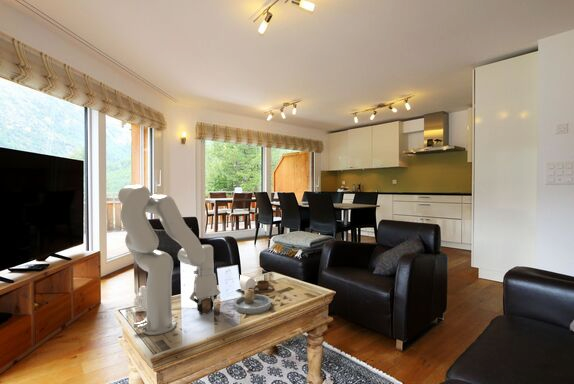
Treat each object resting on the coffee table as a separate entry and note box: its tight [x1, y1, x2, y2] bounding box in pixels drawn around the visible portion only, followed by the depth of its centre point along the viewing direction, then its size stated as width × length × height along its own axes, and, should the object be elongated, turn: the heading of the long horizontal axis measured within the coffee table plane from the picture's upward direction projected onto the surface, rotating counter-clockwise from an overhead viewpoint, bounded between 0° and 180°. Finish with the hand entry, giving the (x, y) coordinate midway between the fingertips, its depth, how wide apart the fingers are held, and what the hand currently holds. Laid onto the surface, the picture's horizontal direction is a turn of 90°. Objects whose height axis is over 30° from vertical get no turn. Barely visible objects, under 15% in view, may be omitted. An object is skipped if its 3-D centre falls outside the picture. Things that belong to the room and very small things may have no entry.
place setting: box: [248, 279, 274, 294], centre depth 162 cm, size 18×20×6 cm
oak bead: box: [244, 289, 255, 304], centre depth 144 cm, size 5×5×6 cm
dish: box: [232, 293, 272, 315], centre depth 142 cm, size 18×18×2 cm
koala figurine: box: [133, 285, 147, 313], centre depth 138 cm, size 8×7×12 cm
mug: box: [239, 274, 258, 292], centre depth 165 cm, size 12×10×8 cm
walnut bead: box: [201, 297, 212, 314], centre depth 135 cm, size 5×5×6 cm
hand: (205, 310), depth 135 cm, fingers closed on walnut bead, 4 cm apart
